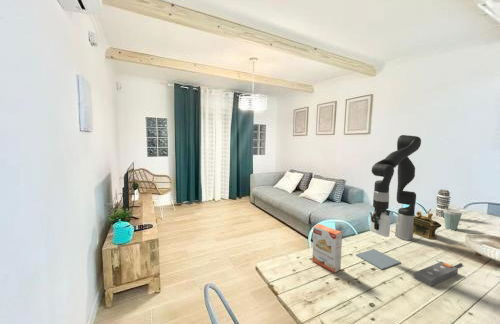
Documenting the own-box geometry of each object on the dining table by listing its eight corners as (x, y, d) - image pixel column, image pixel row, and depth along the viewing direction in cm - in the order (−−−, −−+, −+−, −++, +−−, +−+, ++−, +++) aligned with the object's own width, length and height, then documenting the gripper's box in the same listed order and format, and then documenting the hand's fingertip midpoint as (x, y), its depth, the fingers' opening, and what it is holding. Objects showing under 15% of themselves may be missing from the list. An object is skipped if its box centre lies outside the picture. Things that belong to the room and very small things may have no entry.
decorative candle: (450, 220, 186) (452, 191, 184) (436, 218, 191) (438, 190, 189) (447, 216, 194) (449, 189, 192) (434, 215, 199) (436, 188, 197)
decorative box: (441, 238, 150) (443, 211, 148) (432, 240, 147) (434, 212, 145) (411, 228, 169) (413, 203, 167) (402, 229, 165) (404, 204, 164)
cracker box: (311, 261, 120) (312, 225, 119) (318, 258, 124) (319, 223, 122) (334, 273, 109) (336, 234, 107) (341, 269, 113) (342, 231, 111)
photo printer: (368, 230, 126) (369, 210, 124) (373, 229, 127) (374, 209, 126) (385, 237, 116) (387, 215, 115) (390, 236, 118) (392, 214, 117)
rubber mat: (355, 255, 127) (355, 254, 127) (373, 249, 134) (373, 249, 134) (381, 269, 113) (381, 268, 113) (400, 263, 119) (400, 262, 119)
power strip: (413, 277, 106) (413, 270, 106) (452, 261, 121) (453, 255, 121) (430, 286, 100) (431, 279, 99) (470, 268, 115) (470, 261, 114)
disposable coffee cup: (456, 227, 170) (458, 209, 168) (463, 232, 160) (465, 213, 158) (439, 225, 174) (441, 207, 173) (445, 230, 164) (446, 211, 163)
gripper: (382, 196, 126) (381, 224, 128) (366, 199, 121) (364, 228, 122) (395, 199, 120) (394, 229, 121) (378, 202, 114) (377, 233, 115)
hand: (379, 228), depth 122 cm, fingers closed on photo printer, 4 cm apart
